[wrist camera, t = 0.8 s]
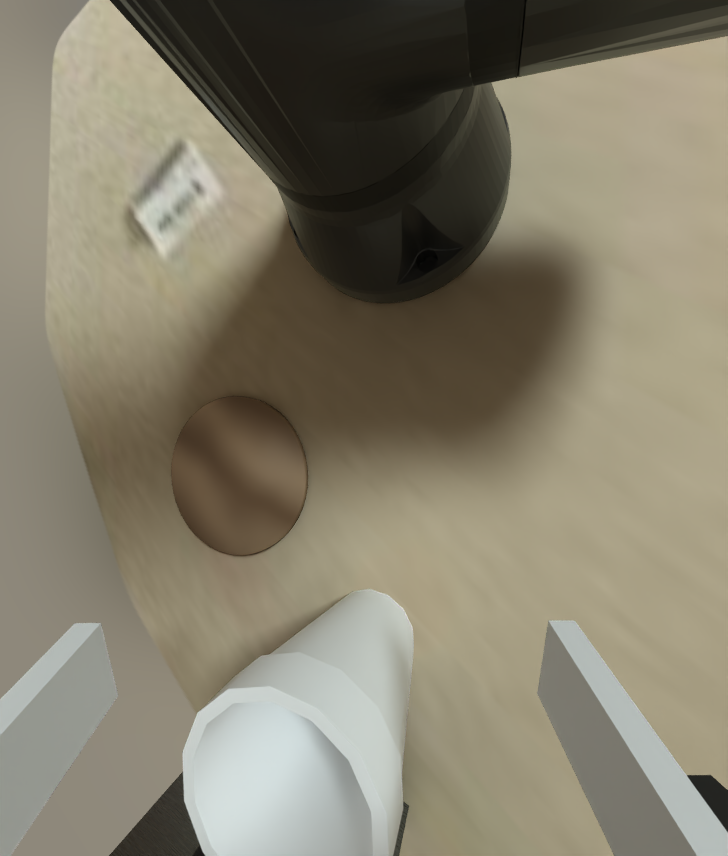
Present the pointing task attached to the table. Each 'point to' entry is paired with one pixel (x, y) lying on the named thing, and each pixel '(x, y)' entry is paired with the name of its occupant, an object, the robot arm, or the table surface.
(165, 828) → the post
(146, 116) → the table surface
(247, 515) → the coaster
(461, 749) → the table surface
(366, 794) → the foam cup
